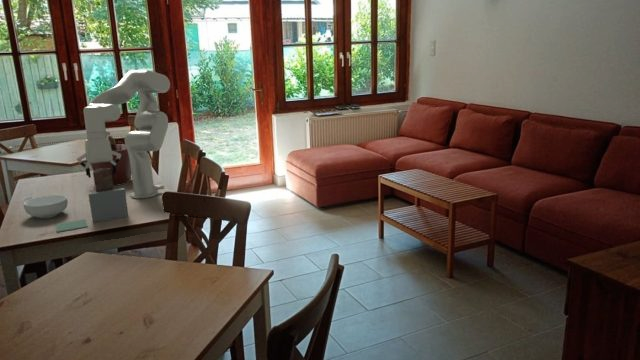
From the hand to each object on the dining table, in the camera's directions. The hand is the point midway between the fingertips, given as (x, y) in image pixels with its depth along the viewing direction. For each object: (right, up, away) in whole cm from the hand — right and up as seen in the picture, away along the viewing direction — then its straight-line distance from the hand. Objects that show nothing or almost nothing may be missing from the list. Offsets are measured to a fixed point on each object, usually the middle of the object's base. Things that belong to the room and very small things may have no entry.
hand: (101, 175), depth 213 cm
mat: (-8, -21, -10) cm, 24 cm away
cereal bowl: (-25, -18, +5) cm, 31 cm away
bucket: (-19, -3, +57) cm, 60 cm away
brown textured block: (+1, -17, +5) cm, 17 cm away
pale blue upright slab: (+4, -18, -2) cm, 19 cm away
